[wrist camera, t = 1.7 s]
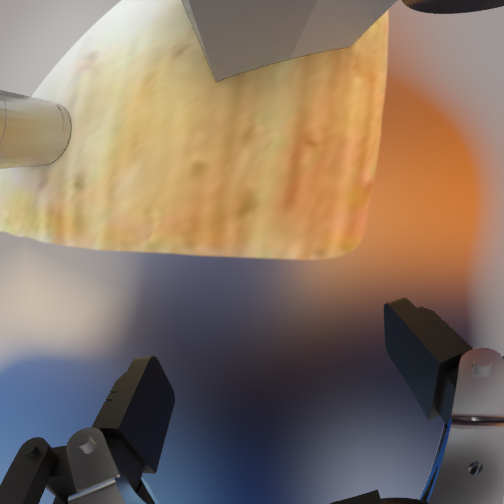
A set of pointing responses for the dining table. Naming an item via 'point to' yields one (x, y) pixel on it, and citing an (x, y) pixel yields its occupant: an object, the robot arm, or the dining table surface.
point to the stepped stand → (276, 29)
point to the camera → (452, 5)
